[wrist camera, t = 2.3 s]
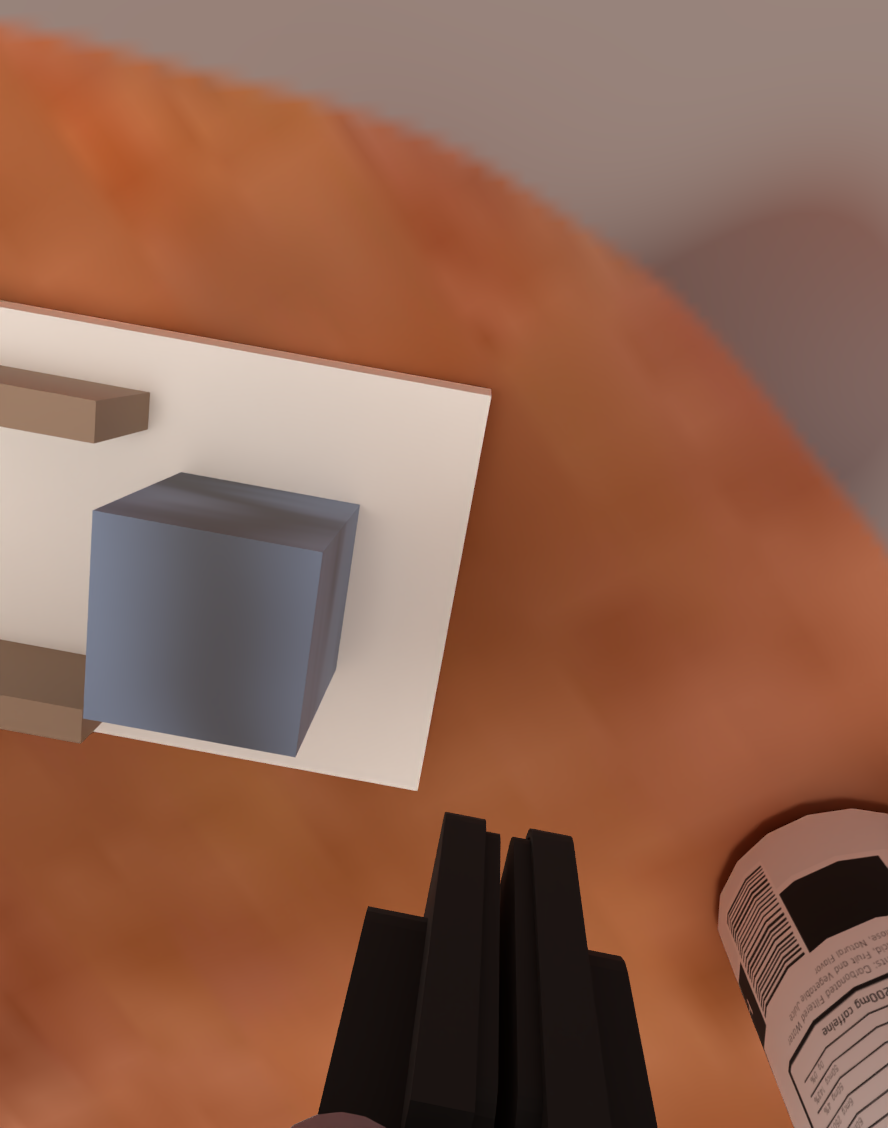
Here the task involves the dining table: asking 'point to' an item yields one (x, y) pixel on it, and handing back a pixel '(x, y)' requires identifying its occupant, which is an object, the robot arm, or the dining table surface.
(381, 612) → the board
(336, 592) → the block
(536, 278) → the dining table surface
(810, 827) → the supplement can
